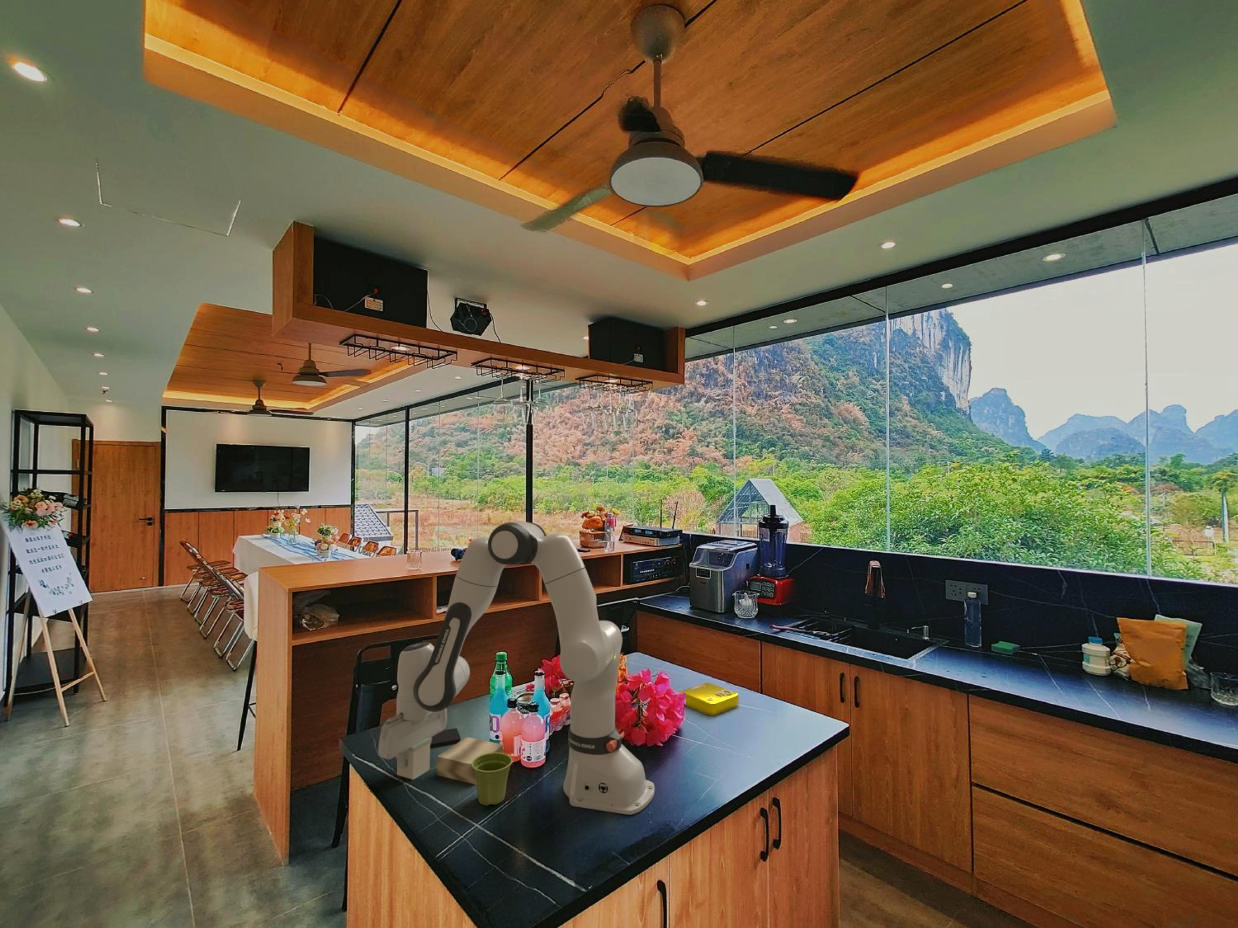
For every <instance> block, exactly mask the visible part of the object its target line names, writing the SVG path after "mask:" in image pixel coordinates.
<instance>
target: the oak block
mask: <svg viewBox="0 0 1238 928" xmlns="http://www.w3.org/2000/svg"><path fill="white" fill-rule="evenodd" d="M496 752H497V753H504V744H503V743H502V744H501V743H496V742H492V741H487V740H482V739H479V738H472V737H468V736H466V737H465V738H463V739H462V740H461V739H460V742H458V743H457V744H453V745H452V746H451V747H449V748H448V749H446V750H445V751H443V752H441V753H440V754H439V755H437V756H436V776H440V777H444V778H449V779H451V780H456V781H460V782H464V783H468V784H472V785H476V777H475V773H474V769H473V768H472V761H473V760H474V759H475V758H476V757H478V756H480V755H483V754H487V753H496ZM476 786H477V785H476Z"/></svg>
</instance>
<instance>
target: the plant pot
mask: <svg viewBox="0 0 1238 928" xmlns="http://www.w3.org/2000/svg"><path fill="white" fill-rule="evenodd" d="M512 764H513V758H512V757H511V756H510V755H509V754H507V753H504V752H503V753H497V752H496V753H487V754H483V755H480V756H478V757H476V758H475V759H474V760H473V761H472V768H473V769H474V773H475V777H476V793H477V800H478V802H479V803H480V804H481V805H482V806H489V805H498V804H501V802H503V801H504V799H505V796H506V789H507V782H508V778H509V777H508V776H509V771H510V769H511V765H512Z"/></svg>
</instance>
